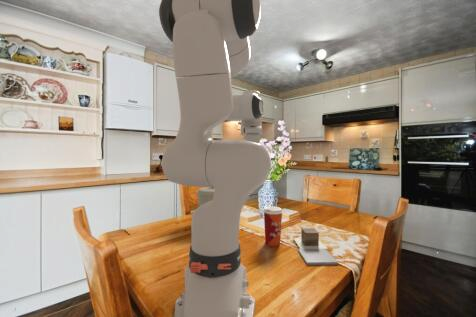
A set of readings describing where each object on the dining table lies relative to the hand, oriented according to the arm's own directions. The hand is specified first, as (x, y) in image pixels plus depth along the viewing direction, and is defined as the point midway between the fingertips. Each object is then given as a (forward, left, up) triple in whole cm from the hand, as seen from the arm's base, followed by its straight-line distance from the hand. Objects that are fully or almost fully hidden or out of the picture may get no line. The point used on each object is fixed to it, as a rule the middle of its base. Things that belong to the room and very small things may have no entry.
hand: (251, 163), depth 95 cm
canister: (+18, +17, -31) cm, 40 cm away
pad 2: (-19, -21, -31) cm, 42 cm away
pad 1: (-9, -22, -31) cm, 39 cm away
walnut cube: (-9, -22, -30) cm, 38 cm away
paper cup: (-7, -8, -31) cm, 33 cm away
